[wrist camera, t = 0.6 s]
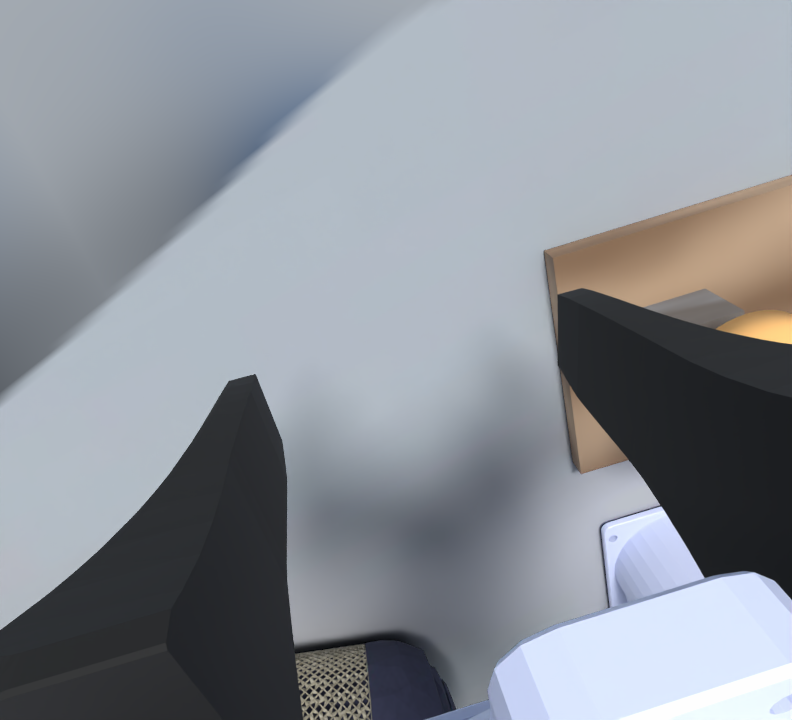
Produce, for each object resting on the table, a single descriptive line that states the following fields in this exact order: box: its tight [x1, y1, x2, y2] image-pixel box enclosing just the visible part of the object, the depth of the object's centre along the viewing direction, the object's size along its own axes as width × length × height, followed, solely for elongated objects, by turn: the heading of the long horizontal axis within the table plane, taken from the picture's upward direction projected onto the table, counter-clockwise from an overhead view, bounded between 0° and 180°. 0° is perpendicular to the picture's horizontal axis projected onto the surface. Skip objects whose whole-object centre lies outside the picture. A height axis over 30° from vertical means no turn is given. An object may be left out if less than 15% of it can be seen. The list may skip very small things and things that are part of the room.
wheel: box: [716, 310, 792, 344], centre depth 21 cm, size 6×6×5 cm
